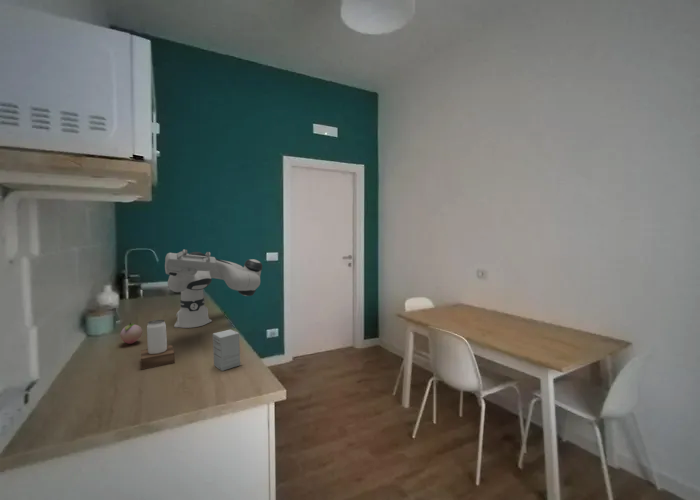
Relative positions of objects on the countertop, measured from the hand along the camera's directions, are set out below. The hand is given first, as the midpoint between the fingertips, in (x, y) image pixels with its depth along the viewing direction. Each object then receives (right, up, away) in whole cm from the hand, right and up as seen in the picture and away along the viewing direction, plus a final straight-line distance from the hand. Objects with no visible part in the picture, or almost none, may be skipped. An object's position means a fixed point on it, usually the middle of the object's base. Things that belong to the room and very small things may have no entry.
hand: (197, 252), depth 140 cm
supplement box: (+18, -43, -15) cm, 49 cm away
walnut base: (-11, -43, -9) cm, 46 cm away
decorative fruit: (-35, -42, +12) cm, 57 cm away
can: (-11, -39, -10) cm, 42 cm away
